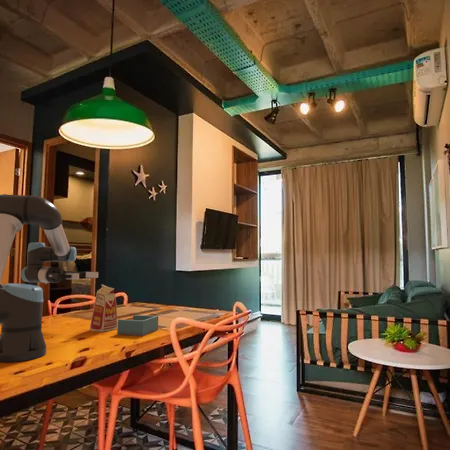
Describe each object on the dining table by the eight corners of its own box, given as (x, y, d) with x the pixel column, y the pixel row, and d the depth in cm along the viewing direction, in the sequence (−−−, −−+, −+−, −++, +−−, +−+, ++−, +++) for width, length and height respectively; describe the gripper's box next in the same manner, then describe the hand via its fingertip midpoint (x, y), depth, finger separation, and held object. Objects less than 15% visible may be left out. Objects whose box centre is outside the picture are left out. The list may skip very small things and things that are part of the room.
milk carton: (89, 330, 156) (90, 285, 158) (105, 326, 164) (106, 283, 166) (104, 332, 152) (105, 285, 154) (119, 328, 160) (120, 284, 162)
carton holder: (158, 329, 158) (158, 316, 158) (143, 336, 145) (143, 321, 146) (134, 328, 161) (134, 314, 162) (117, 334, 148) (117, 319, 149)
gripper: (69, 281, 181) (104, 282, 175) (29, 284, 157) (69, 286, 151) (69, 266, 182) (105, 266, 176) (30, 267, 158) (69, 268, 152)
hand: (88, 275), depth 163 cm, fingers open, 13 cm apart
